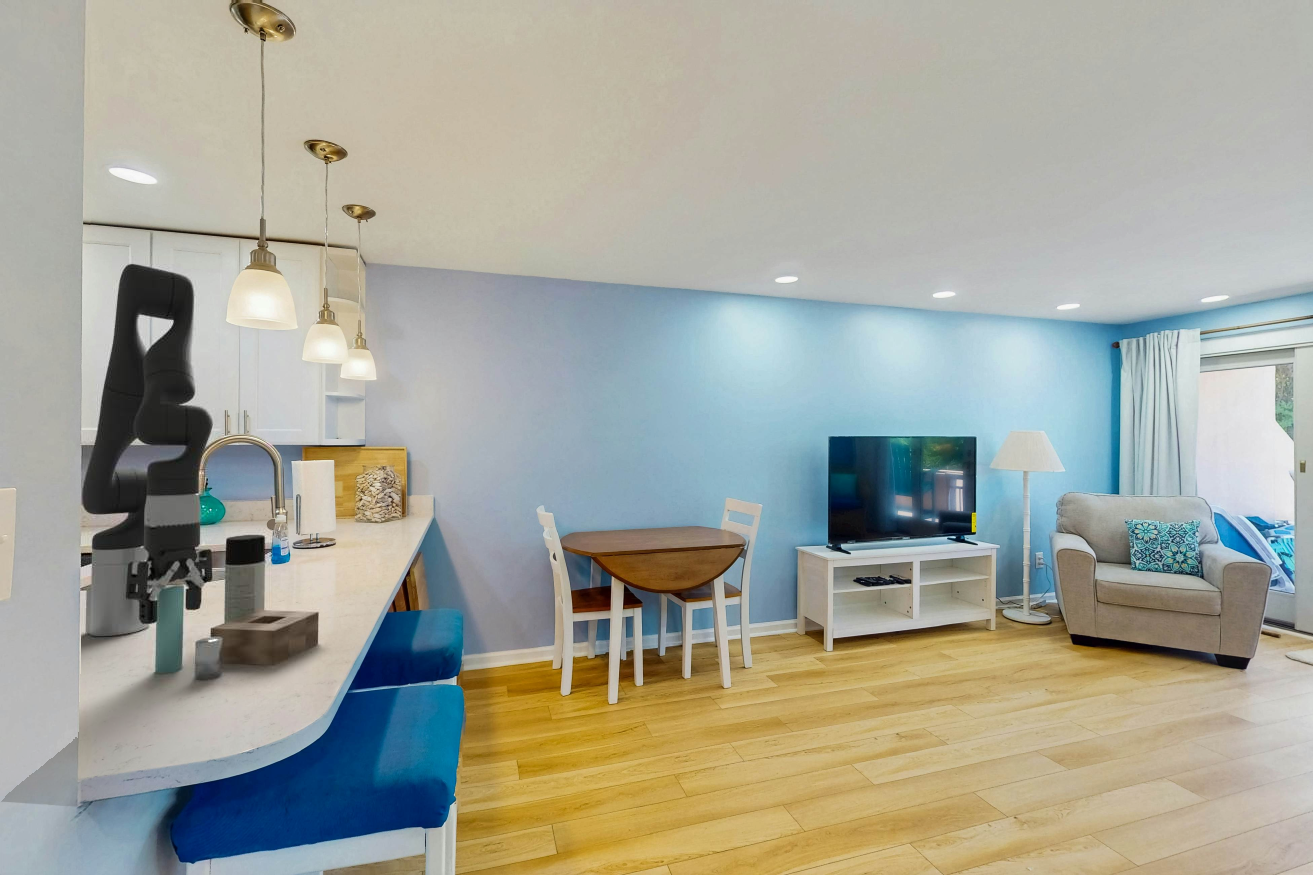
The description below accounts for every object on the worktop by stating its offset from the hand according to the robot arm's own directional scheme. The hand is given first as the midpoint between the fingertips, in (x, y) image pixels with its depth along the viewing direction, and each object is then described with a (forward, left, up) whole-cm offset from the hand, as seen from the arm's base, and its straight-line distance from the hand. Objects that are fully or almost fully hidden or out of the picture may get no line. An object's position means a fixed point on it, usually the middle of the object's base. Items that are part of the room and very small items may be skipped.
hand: (171, 616), depth 104 cm
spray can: (-1, +18, -9) cm, 20 cm away
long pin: (0, 0, -9) cm, 9 cm away
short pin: (+9, -2, -9) cm, 13 cm away
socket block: (+10, +10, -9) cm, 17 cm away
